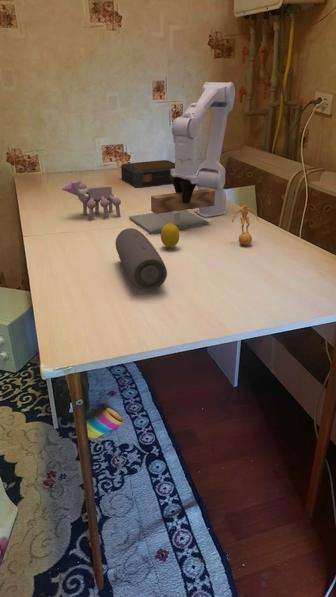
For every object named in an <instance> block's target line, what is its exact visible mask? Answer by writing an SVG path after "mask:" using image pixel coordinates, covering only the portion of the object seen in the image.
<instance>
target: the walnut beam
mask: <svg viewBox="0 0 336 597" xmlns="http://www.w3.org/2000/svg"><path fill="white" fill-rule="evenodd" d="M214 202H215V191H214V190H212V189H202V190H198V189H194V190H193V193H192V196H191V200H190V203H183V197H182V192H178V193H176V192H173V193H163V194H156V195H155V194H154V195H150V211H151V213H155V214H160V213H167V212H174V211H181V210H187V211H188V210H194V209H199V208H202V207H208V206H214Z"/></svg>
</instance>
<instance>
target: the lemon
mask: <svg viewBox="0 0 336 597" xmlns="http://www.w3.org/2000/svg"><path fill="white" fill-rule="evenodd" d="M179 230H180V229H179ZM179 230H178V228H177V227H176V226H175V225H174V224H172V223H169V224H166V225H165V226H164V227H163V228H162V231H161V233H160V241H161V243H162V244H163V245H164V246H165V247H167V248H168V249H172V248H173V247H175V246H177V244H178V243H179V240H180V232H179Z"/></svg>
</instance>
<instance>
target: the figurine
mask: <svg viewBox="0 0 336 597" xmlns="http://www.w3.org/2000/svg"><path fill="white" fill-rule="evenodd" d="M249 212H251V213H253V215H254V216H255V218H256V220H257V221H259V217H258V215H257V213H256V211H255V210H254V209H251V208H250V207H248V205H246V204H245V205H242V206H241V207H240V208H239V209H237V210H235V211H234V212H233V216H232V219H231V222H232V223H234V221H235V217H236V214H237V213H241V217H240V219H239V220H240V224H241V233H240V234H239V237H238V242H239V244H240V245H242V246H243V247H244V246H248V245H250V244H251V243H252V241H253V237H252V235H251V233H250V232H249V229H248V228H249V226H250V225H251V222H250V217H249V216H248V214H249ZM245 223H246V224H247V225H246V227H245V229H246V232H245V231H244V230H245V229H244V226H245Z"/></svg>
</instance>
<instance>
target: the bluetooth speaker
mask: <svg viewBox="0 0 336 597" xmlns="http://www.w3.org/2000/svg"><path fill="white" fill-rule="evenodd" d="M115 249H116V252H117V255H118V259H119V260H120V262H121V266H122V267H123V268H124V271H125V272H126V273H127V275H128V276H129V278H130V279H131V281H132V282H133V284H134V285H135V286H136V287H138V289H140V290H141V291H145V292H146V291H154V290H157V289H159V288H160V287H161V286H162V285H163V284H164V283H165V282H166V279H167V277H168V272H167V267H166V265H165V263H164V260H163V259H162V257H161V256H160V254H159V252H158V251H157V249H156V247H155V246H154V245H153V244H152V242H151V241H150V240H149V239H148V237H147V236H146V235H145V234H143V233H142V231H140V230H138V229H137V228H132V227H129V228H128V227H127V228H125V229H123V230H121V231H120V232H119V234H117V237H116V239H115Z"/></svg>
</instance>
